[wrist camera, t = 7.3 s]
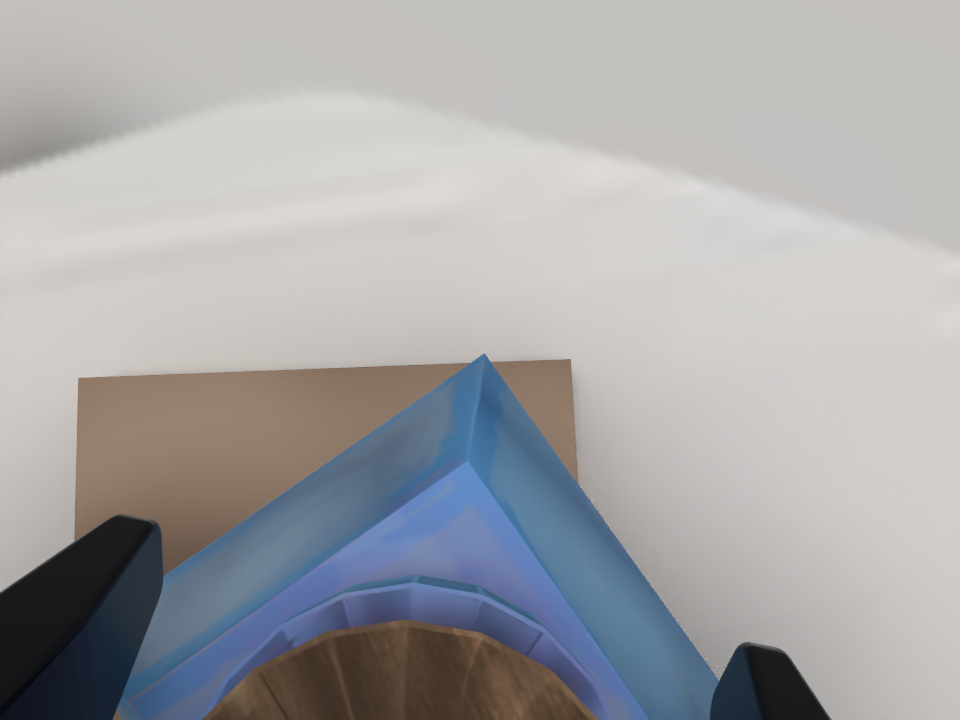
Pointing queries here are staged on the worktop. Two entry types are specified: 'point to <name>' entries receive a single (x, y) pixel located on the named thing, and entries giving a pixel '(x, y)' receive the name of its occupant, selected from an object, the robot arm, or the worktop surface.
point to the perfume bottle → (421, 590)
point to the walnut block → (256, 437)
